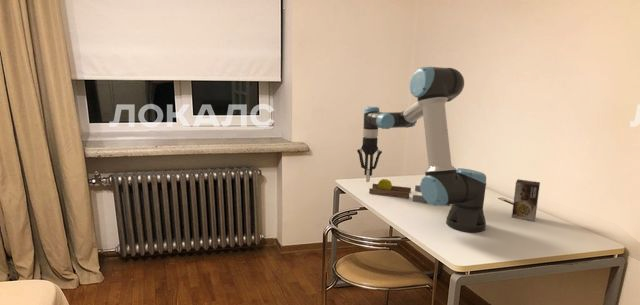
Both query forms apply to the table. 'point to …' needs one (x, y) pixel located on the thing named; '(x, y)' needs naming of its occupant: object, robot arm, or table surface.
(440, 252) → the table surface
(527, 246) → the table surface
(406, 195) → the chute
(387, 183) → the tennis ball
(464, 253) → the table surface
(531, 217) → the coffee box
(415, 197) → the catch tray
